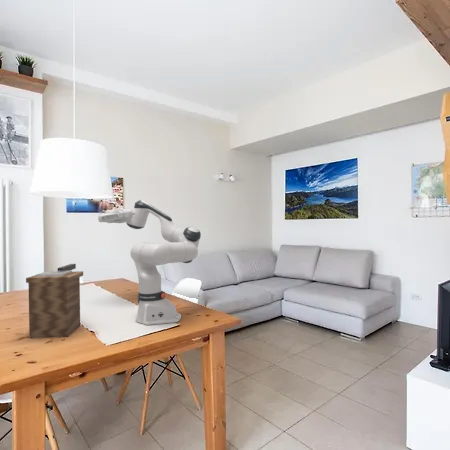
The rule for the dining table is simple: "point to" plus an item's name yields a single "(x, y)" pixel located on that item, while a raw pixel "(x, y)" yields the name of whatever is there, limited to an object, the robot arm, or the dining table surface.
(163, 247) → the robot arm
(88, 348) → the dining table surface
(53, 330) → the stand
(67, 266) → the turner
